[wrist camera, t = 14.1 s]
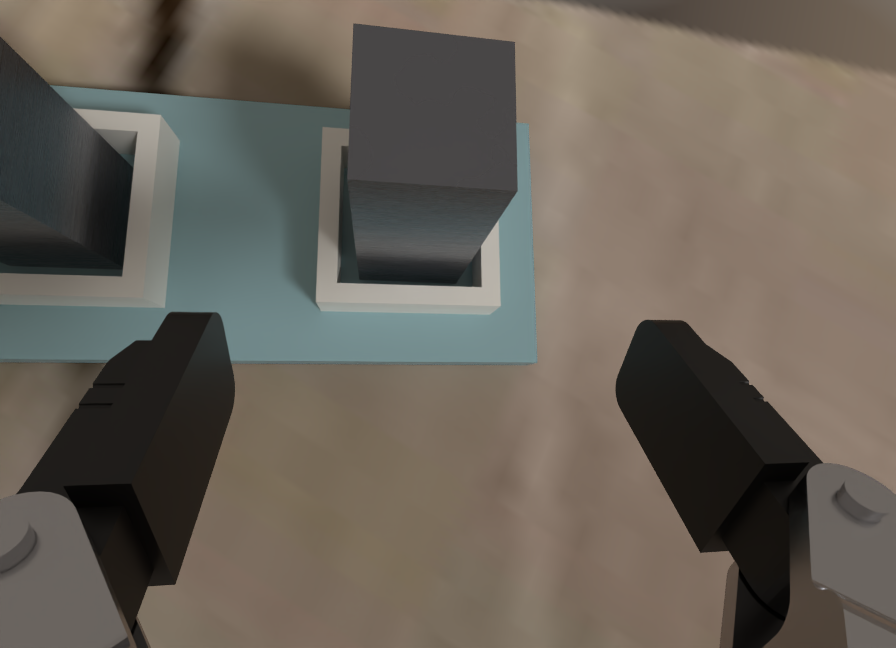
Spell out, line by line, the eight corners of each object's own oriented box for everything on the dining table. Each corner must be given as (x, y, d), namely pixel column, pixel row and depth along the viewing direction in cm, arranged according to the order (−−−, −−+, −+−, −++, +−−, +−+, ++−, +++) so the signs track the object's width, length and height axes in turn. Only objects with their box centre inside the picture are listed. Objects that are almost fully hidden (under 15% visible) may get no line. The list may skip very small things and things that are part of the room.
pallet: (-79, 361, 20) (-171, 352, 17) (-34, 97, 22) (-109, 41, 19) (527, 365, 24) (552, 358, 21) (519, 139, 26) (541, 99, 23)
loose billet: (359, 279, 22) (347, 179, 12) (362, 182, 23) (353, 14, 13) (455, 283, 23) (518, 191, 13) (456, 189, 23) (514, 33, 14)
